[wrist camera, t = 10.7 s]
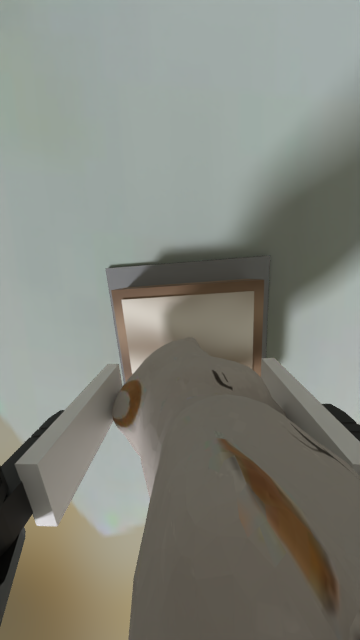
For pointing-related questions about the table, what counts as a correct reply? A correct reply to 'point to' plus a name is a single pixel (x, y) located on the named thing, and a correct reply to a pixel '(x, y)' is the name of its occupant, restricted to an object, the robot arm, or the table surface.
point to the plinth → (191, 320)
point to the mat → (193, 279)
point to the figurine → (236, 509)
